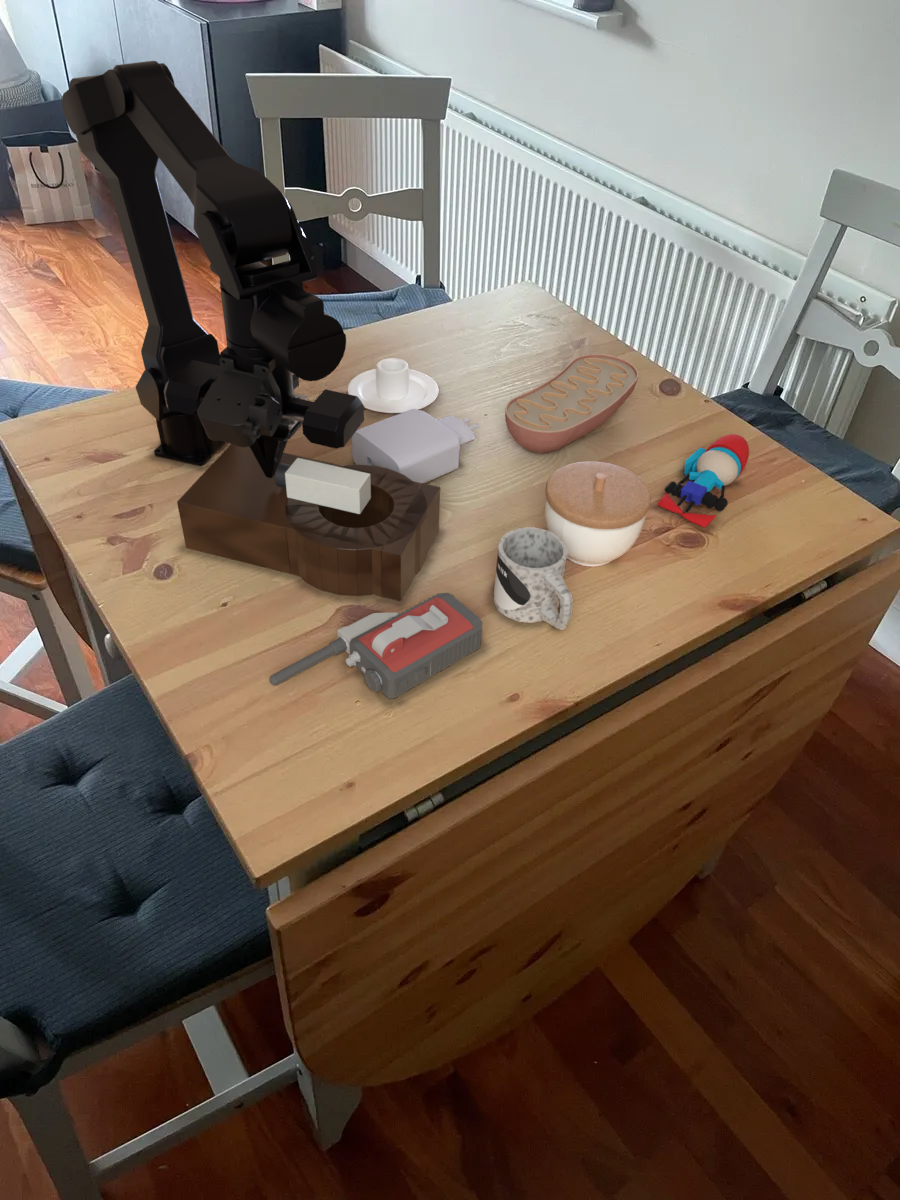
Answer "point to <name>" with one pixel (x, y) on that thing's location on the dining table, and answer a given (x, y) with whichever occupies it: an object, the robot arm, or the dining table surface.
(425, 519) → the wooden desk organizer
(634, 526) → the trinket box
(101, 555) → the dining table surface
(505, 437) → the dining table surface
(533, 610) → the mug
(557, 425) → the anatomical model
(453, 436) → the charger
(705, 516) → the toy figure
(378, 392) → the candle holder
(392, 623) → the walkie-talkie
